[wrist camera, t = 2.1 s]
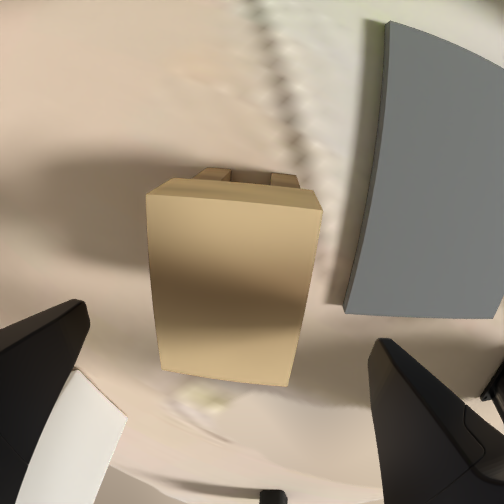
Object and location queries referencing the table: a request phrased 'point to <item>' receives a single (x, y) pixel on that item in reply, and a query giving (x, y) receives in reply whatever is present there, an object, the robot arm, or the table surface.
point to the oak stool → (231, 274)
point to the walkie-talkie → (273, 497)
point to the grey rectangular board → (433, 186)
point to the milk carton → (73, 447)
